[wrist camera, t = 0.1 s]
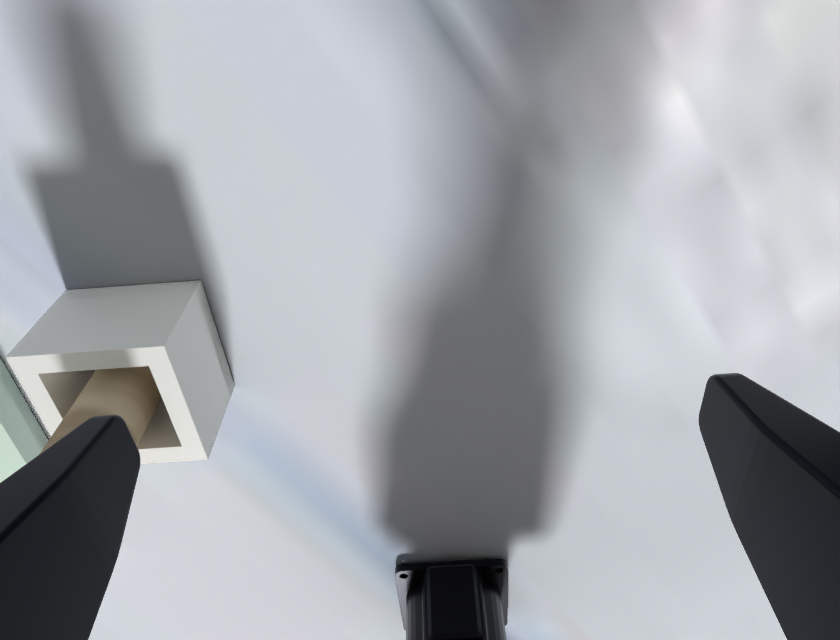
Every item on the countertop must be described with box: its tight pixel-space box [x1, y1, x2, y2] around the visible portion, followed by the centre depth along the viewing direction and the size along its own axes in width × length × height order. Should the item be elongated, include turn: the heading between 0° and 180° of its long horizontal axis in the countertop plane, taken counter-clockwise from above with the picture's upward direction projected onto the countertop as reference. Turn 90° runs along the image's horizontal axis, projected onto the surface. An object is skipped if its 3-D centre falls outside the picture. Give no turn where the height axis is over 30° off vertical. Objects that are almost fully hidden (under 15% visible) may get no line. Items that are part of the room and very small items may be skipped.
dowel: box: [40, 366, 162, 454], centre depth 22 cm, size 3×3×10 cm
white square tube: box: [5, 280, 235, 464], centre depth 25 cm, size 6×6×4 cm
